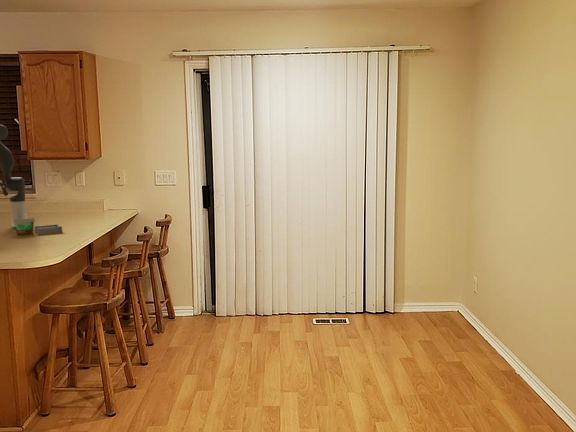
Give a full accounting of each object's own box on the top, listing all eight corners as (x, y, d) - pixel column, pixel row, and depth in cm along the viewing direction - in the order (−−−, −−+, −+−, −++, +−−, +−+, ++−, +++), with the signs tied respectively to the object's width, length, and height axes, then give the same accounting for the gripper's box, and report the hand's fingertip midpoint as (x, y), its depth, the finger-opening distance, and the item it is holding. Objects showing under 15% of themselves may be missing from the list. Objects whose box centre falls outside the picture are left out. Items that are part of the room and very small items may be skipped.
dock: (35, 232, 378) (34, 226, 378) (59, 230, 385) (58, 224, 385) (37, 234, 368) (37, 228, 367) (62, 232, 375) (61, 226, 374)
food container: (12, 235, 365) (11, 219, 364) (14, 234, 371) (13, 218, 370) (33, 235, 368) (32, 219, 366) (35, 233, 374) (34, 217, 372)
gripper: (-1, 168, 349) (14, 191, 357) (-16, 170, 356) (-1, 193, 364) (-10, 175, 344) (5, 198, 351) (-26, 177, 350) (-10, 200, 358)
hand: (2, 196), depth 358 cm, fingers open, 8 cm apart
